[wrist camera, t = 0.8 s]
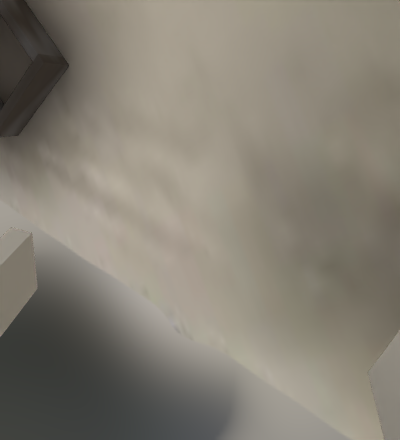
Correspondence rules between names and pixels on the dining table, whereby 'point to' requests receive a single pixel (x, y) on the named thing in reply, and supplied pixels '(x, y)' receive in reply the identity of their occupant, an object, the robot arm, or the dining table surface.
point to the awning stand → (37, 72)
